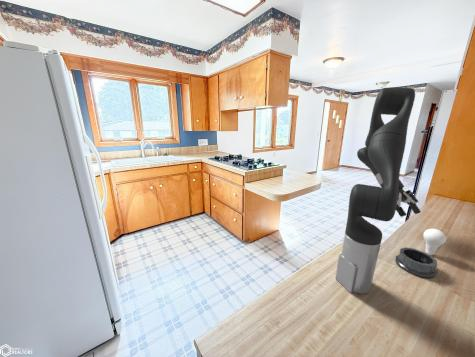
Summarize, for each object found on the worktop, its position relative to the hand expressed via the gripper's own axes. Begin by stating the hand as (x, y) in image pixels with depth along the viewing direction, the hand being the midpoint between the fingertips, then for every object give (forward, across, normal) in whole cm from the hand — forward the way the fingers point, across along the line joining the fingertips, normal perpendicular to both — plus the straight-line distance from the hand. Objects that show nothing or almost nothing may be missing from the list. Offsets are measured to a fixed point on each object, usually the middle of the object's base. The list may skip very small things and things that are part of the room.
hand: (411, 214), depth 79 cm
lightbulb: (+16, 0, +3) cm, 16 cm away
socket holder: (+18, -13, +1) cm, 22 cm away
